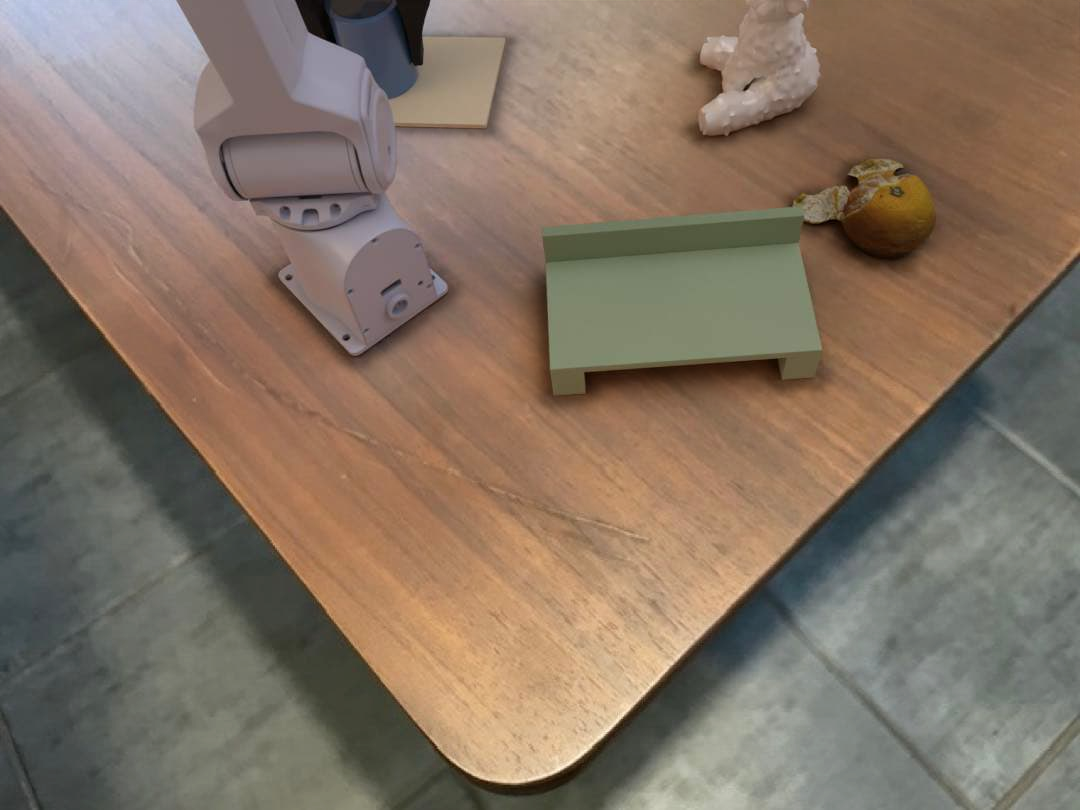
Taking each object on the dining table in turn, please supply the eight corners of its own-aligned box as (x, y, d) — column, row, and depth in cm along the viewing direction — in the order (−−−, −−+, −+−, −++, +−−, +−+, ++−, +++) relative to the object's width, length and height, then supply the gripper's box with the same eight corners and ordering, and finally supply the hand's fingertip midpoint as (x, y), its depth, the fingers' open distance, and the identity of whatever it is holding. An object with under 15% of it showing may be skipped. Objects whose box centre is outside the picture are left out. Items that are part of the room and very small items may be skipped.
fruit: (876, 155, 68) (887, 115, 65) (963, 227, 64) (979, 188, 61) (783, 208, 66) (790, 169, 63) (866, 285, 62) (878, 248, 59)
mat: (505, 41, 78) (505, 37, 77) (486, 128, 73) (485, 124, 72) (293, 38, 80) (292, 34, 80) (260, 123, 75) (258, 119, 75)
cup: (432, 75, 76) (415, -4, 70) (375, 111, 74) (352, 34, 68) (391, 43, 78) (370, -36, 72) (335, 77, 77) (309, -1, 71)
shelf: (814, 377, 59) (830, 324, 54) (553, 396, 60) (546, 345, 55) (790, 263, 63) (802, 205, 59) (548, 282, 64) (541, 226, 60)
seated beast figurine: (698, 53, 75) (708, -95, 65) (812, 52, 74) (840, -98, 64) (697, 139, 70) (707, -6, 60) (819, 140, 69) (850, -8, 59)
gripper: (443, -155, 65) (472, 19, 76) (232, -133, 66) (293, 35, 77) (440, -94, 61) (471, 79, 73) (217, -72, 62) (283, 95, 74)
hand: (379, 60), depth 75 cm, fingers closed on cup, 6 cm apart
